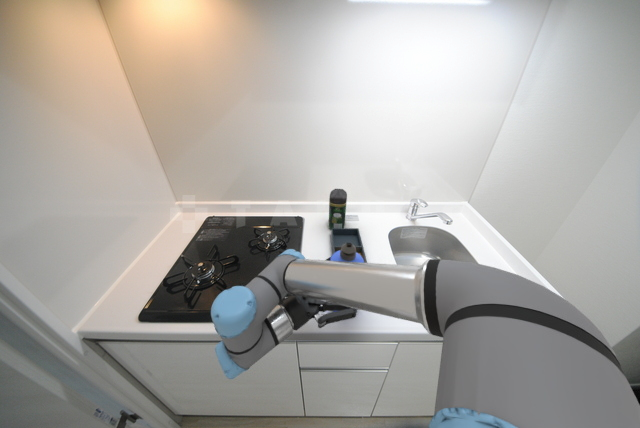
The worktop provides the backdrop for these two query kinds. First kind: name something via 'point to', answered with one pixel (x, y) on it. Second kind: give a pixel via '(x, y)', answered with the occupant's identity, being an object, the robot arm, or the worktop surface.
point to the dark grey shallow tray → (347, 240)
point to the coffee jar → (337, 208)
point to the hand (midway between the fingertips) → (348, 272)
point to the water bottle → (347, 254)
